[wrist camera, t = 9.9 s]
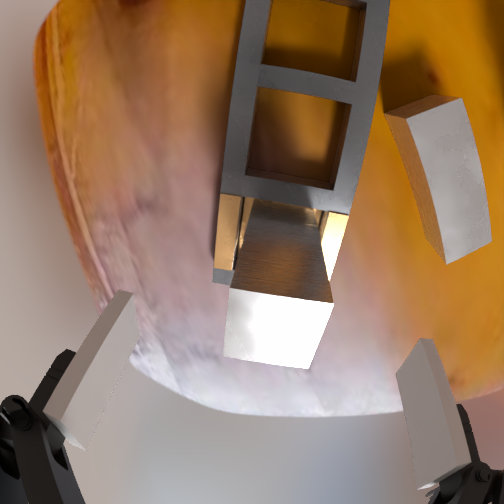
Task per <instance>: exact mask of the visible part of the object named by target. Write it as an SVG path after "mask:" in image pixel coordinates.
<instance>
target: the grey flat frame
mask: <svg viewBox="0 0 504 504" xmlns="http://www.w3.org/2000/svg"><path fill="white" fill-rule="evenodd" d="M321 1H326V2H330V3H334V4H339V5H343V6H347V7H351V8H354V9H358V10H360V15H359V23H358V30H357V38H356V45H355V51H354V58H353V64H352V70H351V76H350V81H348V80H344V79H340V78H336V77H331V76H327V75H322V74H318V73H313V72H308V71H302V70H297V69H291V68H285V67H279V66H272V65H264V64H263V61H264V54H265V48H266V41H267V35H268V28H269V22H270V16H271V10H272V3H273V0H246V3H245V9H244V15H243V21H242V28H241V34H240V40H239V47H238V53H237V60H236V67H235V74H234V81H233V89H232V96H231V104H230V111H229V119H228V127H227V136H226V144H225V153H224V162H223V171H222V180H221V190H220V200H219V210H218V221H217V232H216V243H215V255H214V268H213V281H212V282H214V283H220V284H226V285H231V282H232V279H233V275H234V271H235V267H236V264H237V260H238V256H239V252H240V249H241V245H242V241H243V238H244V234H245V230H246V227H247V223H248V219H249V215H250V212H251V208H252V204H253V201H254V200H260V201H266V202H273V203H279V204H284V205H290V206H296V207H302V208H307V209H313V210H314V214H315V218H316V222H317V226H318V225H319V228H318V231H319V235H320V240H321V244H322V249H323V253H324V258H325V263H326V268H327V273H328V278H329V279H330V276H331V273H332V270H333V267H334V264H335V261H336V258H337V254H338V251H339V248H340V244H341V241H342V238H343V234H344V231H345V227H346V224H347V220H348V217H349V213H350V210H351V206H352V202H353V199H354V195H355V191H356V187H357V183H358V179H359V175H360V171H361V167H362V163H363V159H364V154H365V150H366V146H367V141H368V137H369V132H370V127H371V122H372V118H373V113H374V107H375V102H376V97H377V91H378V86H379V80H380V74H381V68H382V61H383V55H384V48H385V41H386V33H387V25H388V16H389V6H390V0H321ZM259 87H262V88H269V89H276V90H282V91H288V92H294V93H299V94H305V95H310V96H315V97H320V98H324V99H329V100H333V101H338V102H342V103H346V105H345V110H344V115H343V120H342V126H341V131H340V136H339V140H338V145H337V150H336V155H335V159H334V164H333V169H332V173H331V178H330V182H324V181H319V180H314V179H309V178H303V177H298V176H292V175H287V174H281V173H275V172H269V171H263V170H256V169H250V168H248V164H249V157H250V150H251V143H252V136H253V129H254V122H255V115H256V108H257V101H258V94H259ZM244 197H245V202H244V210H243V217H242V209H243V201H244ZM322 210H323V212H322ZM321 212H322V216H321ZM241 217H242V225H241V233H240V240H239V232H240V224H241ZM320 217H321V220H320ZM319 221H320V224H319ZM238 240H239V248H238ZM237 248H238V256H237V257H236V255H237Z"/></svg>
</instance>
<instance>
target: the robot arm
mask: <svg viewBox="0 0 504 504" xmlns="http://www.w3.org/2000/svg"><path fill="white" fill-rule="evenodd" d="M139 337H140V332H139V326H138V320H137V314H136V307H135V301H134V294H133V293H130V292H126V291H122V290H118V291H117V292H116V294H115V295H114V297H113V298H112V300H111V301H110V302H109V304H108V305H107V307H106V308H105V310H104V311H103V313H102V314H101V316H100V317H99V319H98V320H97V322H96V323H95V325H94V327H93V328H92V329H91V331H90V332H89V334H88V336H87V337H86V339H85V340H84V342H83V343H82V345H81V347H80V348H79V350H78V351H77V353H76V352H73V351H71V350H68V349H66V350H65V351H64V352H62V353H61V354H59V355H58V356H57V357H56V359H55V360H54V362H53V364H52V365H51V368H49V370H48V372H47V373H46V376H44V378H43V380H42V381H41V383H40V384H39V386H38V388H37V389H36V391H35V393H34V395H33V397H32V398H31V400H30V401H29V403H28V402H27V401H26V400H25V399H24V398H23V397H21V396H19V395H11V396H8V397H6V398H5V400H3V401H2V403H1V405H0V504H28V503H29V504H85V501H84V499H83V497H82V494H81V492H80V489H79V487H78V484H77V482H76V479H75V476H74V474H73V471H72V468H71V465H70V463H69V459H68V456H67V453H66V450H65V447H64V445H63V443H64V440H65V438H66V439H67V440H68V441H69V442H70V444H72V445H75V446H77V447H79V448H81V449H83V450H85V451H87V449H88V447H89V445H90V442H91V440H92V437H93V435H94V433H95V430H96V428H97V426H98V424H99V421H100V419H101V417H102V415H103V412H104V410H105V408H106V406H107V404H108V401H109V399H110V397H111V395H112V393H113V391H114V388H115V386H116V384H117V382H118V380H119V378H120V376H121V374H122V372H123V369H124V367H125V365H126V363H127V361H128V359H129V357H130V355H131V353H132V351H133V349H134V347H135V345H136V343H137V341H138V339H139ZM396 378H397V382H398V386H399V391H400V395H401V400H402V404H403V409H404V414H405V418H406V424H407V429H408V434H409V440H410V446H411V451H412V458H413V465H414V472H415V479H416V488H417V490H418V489H422V488H428V487H431V486H433V485H435V484H437V483H438V482H439V485H440V486H439V487H437V488H435V489H434V490H432V491H430V492H428V493H427V495H426V497H428V496H429V495H431V494H433V496H431V497H430V501H429V503H428V504H488V503H490V502H492V504H504V470H502V471H501V470H492V469H490V467H489V466H488V465H487V464H486V463H483V462H481V461H480V458H479V455H478V450H477V446H476V443H475V439H474V436H473V432H472V428H471V425H470V424H469V423H470V421H469V418H468V415H467V412H466V411H465V409H464V408H463V406H462V405H461V404H456V403H455V399H454V396H453V393H452V390H451V387H450V384H449V381H448V379H447V376H446V373H445V370H444V367H443V365H442V362H441V359H440V357H439V354H438V352H437V349H436V346H435V344H434V341H433V339H424V338H420V339H419V341H418V342H417V344H416V345H415V347H414V348H413V350H412V351H411V353H410V354H409V356H408V357H407V359H406V360H405V362H404V363H403V364H402V366H401V367H400V369H399V370H398V371H397V373H396Z"/></svg>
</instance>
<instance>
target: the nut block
mask: <svg viewBox="0 0 504 504" xmlns="http://www.w3.org/2000/svg"><path fill="white" fill-rule="evenodd" d="M384 115H385V118H386V120H387V122H388V125H389V127H390V130H391V132H392V135H393V137H394V140H395V142H396V145H397V147H398V150H399V153H400V155H401V158H402V161H403V164H404V166H405V169H406V172H407V175H408V178H409V181H410V184H411V187H412V191H413V194H414V197H415V200H416V204H417V207H418V211H419V214H420V218H421V221H422V225H423V229H424V233H425V237H426V239H427V240H428V242H429V243H430V244H431V245H432V247H433V248H434V249H435V250H436V252H437V253H438V254H439V255H440V257H441V258H442V259H443V261H444V262H445V263H446V265H447V264H449V263H451V262H453V261H455V260H457V259H459V258H461V257H463V256H465V255H467V254H469V253H471V252H473V251H475V250H477V249H479V248H480V247H482V246H484V245H486V244H488V243H490V242H492V238H491V227H490V218H489V210H488V203H487V197H486V191H485V185H484V179H483V174H482V169H481V165H480V160H479V156H478V151H477V147H476V143H475V140H474V136H473V132H472V129H471V125H470V122H469V119H468V115H467V112H466V109H465V106H464V103H463V100H462V98H459V97H451V96H441V95H430V96H427V97H425V98H422V99H419V100H417V101H414V102H412V103H409V104H406V105H404V106H401V107H399V108H396V109H394V110H391V111H389V112H386V113H384Z"/></svg>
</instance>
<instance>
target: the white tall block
mask: <svg viewBox="0 0 504 504" xmlns="http://www.w3.org/2000/svg"><path fill="white" fill-rule="evenodd" d="M332 307H333V298H332V293H331V288H330V283H329V278H328V273H327V268H326V263H325V258H324V253H323V249H322V244H321V240H320V235H319V231H318V226H317V222H316V218H315V214H314V210H313V209H307V208H302V207H296V206H290V205H284V204H279V203H273V202H266V201H260V200H254V201H253V204H252V208H251V212H250V215H249V219H248V223H247V227H246V230H245V234H244V238H243V241H242V245H241V249H240V252H239V256H238V260H237V264H236V267H235V271H234V275H233V279H232V282H231V286H230V293H229V302H228V311H227V320H226V329H225V339H224V348H223V356H225V357H230V358H236V359H242V360H248V361H255V362H262V363H269V364H276V365H284V366H292V367H300V368H308V367H309V365H310V362H311V360H312V357H313V355H314V353H315V350H316V348H317V345H318V343H319V340H320V338H321V335H322V333H323V330H324V328H325V325H326V323H327V320H328V318H329V315H330V312H331V310H332Z"/></svg>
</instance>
